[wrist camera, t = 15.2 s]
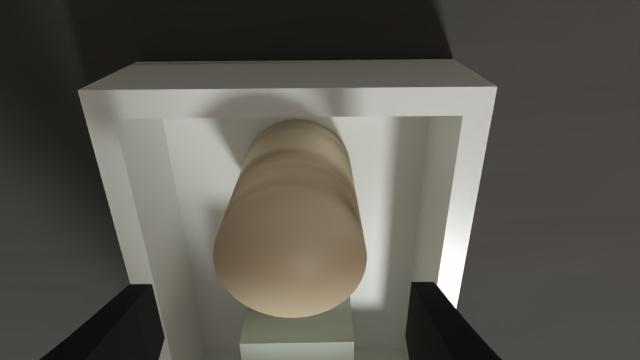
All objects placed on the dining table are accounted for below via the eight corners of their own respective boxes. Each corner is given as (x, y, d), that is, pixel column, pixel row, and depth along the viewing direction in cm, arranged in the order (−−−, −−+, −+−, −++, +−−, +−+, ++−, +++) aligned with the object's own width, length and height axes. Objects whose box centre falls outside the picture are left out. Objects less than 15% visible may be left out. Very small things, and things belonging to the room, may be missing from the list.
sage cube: (346, 335, 25) (352, 415, 20) (262, 336, 25) (250, 417, 20) (347, 268, 22) (354, 342, 18) (255, 270, 22) (239, 343, 18)
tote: (414, 349, 26) (434, 425, 22) (194, 351, 26) (169, 428, 22) (453, 58, 18) (497, 86, 14) (136, 61, 18) (77, 90, 14)
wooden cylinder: (349, 214, 21) (363, 317, 15) (250, 214, 21) (221, 318, 15) (352, 119, 19) (371, 193, 12) (241, 119, 19) (203, 194, 12)
